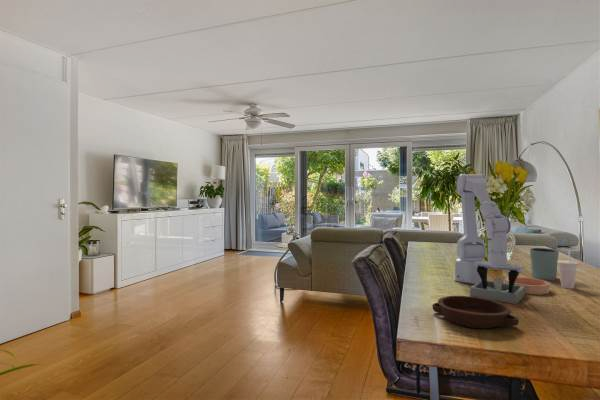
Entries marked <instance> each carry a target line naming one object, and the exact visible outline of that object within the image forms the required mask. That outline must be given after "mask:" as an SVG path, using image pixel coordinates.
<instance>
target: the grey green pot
mask: <svg viewBox="0 0 600 400" xmlns="http://www.w3.org/2000/svg"><path fill="white" fill-rule="evenodd" d="M559 252H560V251H559V250H558V249H554V248H546V247H545V248H544V247H532V248H529V253H530V254H529V255H530V265H531V278H535V279H539V280H544V281H546V280H547V281H554V279H555V280H556V279H557V274H558V271H557V270H558V264H557V261H559Z"/></svg>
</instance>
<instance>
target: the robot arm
mask: <svg viewBox="0 0 600 400" xmlns="http://www.w3.org/2000/svg"><path fill="white" fill-rule="evenodd" d="M487 186H488V178H487V176H486V175H485V173H475V174H474V173H468V174H465V173H460V174H459V175H458V177H457V179H456V191H457V195H458V196H460V198H461V199H460V200H461V211H462V225H463V226H462V227H463V236H462V237H460V238H459V239H458V240H457V245H456V254H457V257H458V258H456V260H455V264H454V282H461V283H468V284H472V285H475V284H476V283H478V282H479V281H481V280H482V283H483V288H485V289H486V287H487V281H488V271H489V270H488V269H493V270H500V271H507V274H508V275H507V276H508V277H509V292H510V293H511V292H512V291H513V286H514V283H515V280H516V278H517V277H519V275H520V274H521V273H523V266H522V265H517V264H510V263H508V234H509V233H510V232H511V226H512V225H511V221H510V219H509V218H508V217H507V216H505V215H504V214H502V213H501V211H500V209H499V207H498V205H497V203H496V202H495V201H494V200H491V198H490V194H489V192H488V189H487ZM475 198H476V199H477V200H478V202H479V204H480V206H479V211H480V213H481V214H482V217H483V220H484V230H485V232H486V238H487V243H488V245H487V248H486V243H485V240H484V239H483V238H482V237H480V236H479V235H478V227H477V215H476V202H475ZM487 250H488V251H487ZM487 253H488V254H487ZM487 255H488V256H487ZM486 256H487V257H488V258H487V259H488V261H484V259H485V258H486Z"/></svg>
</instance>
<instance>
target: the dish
mask: <svg viewBox="0 0 600 400" xmlns="http://www.w3.org/2000/svg"><path fill="white" fill-rule="evenodd" d="M431 306H432V310H433V312H435V313H438V314H441V315H442V316H444V318H445V319H446V320H448V321H449V322H450V323H453V324H455V325H458V326H462V327H465V328H466V327H467V328H471V329H472V328H473V329H493V328H497V327H500V326H503V325H505V326H518V325H519V322H520V321H519V317H516V316H514V315H512V314H511V313H512V310H511V309H510V308H509V307H508V306H507V305H506V304H504V303H501V302H500V301H496V300H491V299H485V298H479V297H474V296H470V295H469V296H468V295H449V296H444V297H440V298H439V299H438V300H437V302H435V303H432V305H431Z"/></svg>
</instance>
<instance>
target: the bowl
mask: <svg viewBox="0 0 600 400" xmlns="http://www.w3.org/2000/svg"><path fill="white" fill-rule="evenodd" d="M504 283H505V284H509V276H508V277H506V278H504ZM514 285H519V286H525V295H526V294H528V295H547V294H549V293H550V291H551V288H550V287H551V286H550V285H551V284H550V282H548V281H546V280H544V279H537V278H534V277H525V276H517V278H516V280H515V283H514Z"/></svg>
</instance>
